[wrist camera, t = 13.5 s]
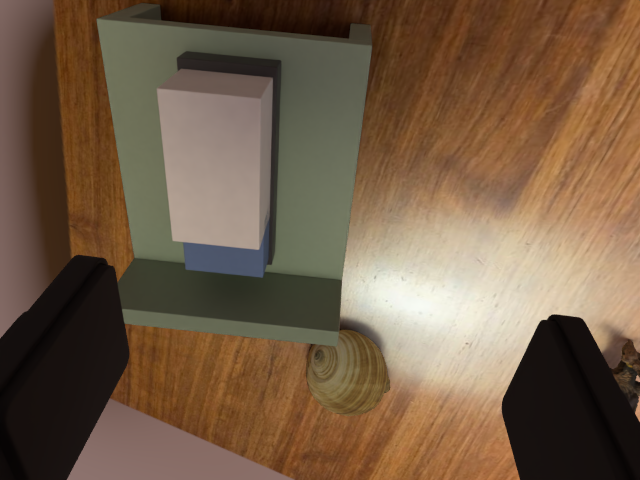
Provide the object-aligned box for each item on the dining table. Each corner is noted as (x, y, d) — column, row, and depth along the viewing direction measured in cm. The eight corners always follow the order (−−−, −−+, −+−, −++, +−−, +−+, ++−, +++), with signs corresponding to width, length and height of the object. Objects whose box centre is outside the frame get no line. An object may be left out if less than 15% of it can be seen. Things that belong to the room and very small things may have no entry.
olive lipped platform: (140, 2, 30) (41, 37, 20) (370, 24, 29) (374, 70, 20) (165, 226, 38) (103, 321, 29) (343, 244, 38) (337, 347, 29)
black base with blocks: (185, 50, 25) (150, 75, 21) (281, 60, 25) (265, 87, 21) (198, 244, 32) (174, 292, 28) (275, 252, 32) (262, 302, 27)
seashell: (378, 344, 49) (432, 373, 42) (344, 409, 48) (395, 449, 41) (305, 303, 45) (353, 328, 38) (267, 374, 44) (309, 412, 37)
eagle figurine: (580, 324, 39) (519, 405, 42) (668, 389, 34) (592, 476, 38) (616, 322, 44) (559, 395, 47) (698, 379, 39) (629, 456, 42)
